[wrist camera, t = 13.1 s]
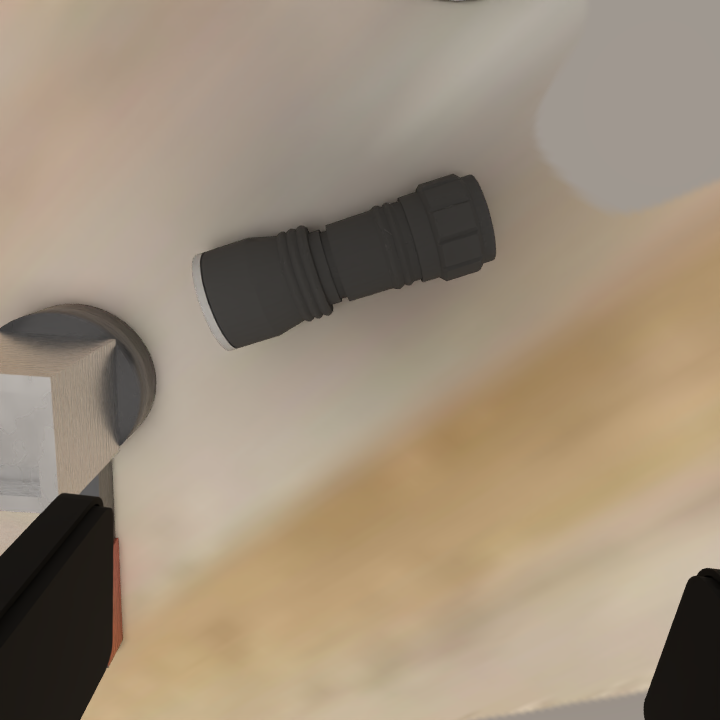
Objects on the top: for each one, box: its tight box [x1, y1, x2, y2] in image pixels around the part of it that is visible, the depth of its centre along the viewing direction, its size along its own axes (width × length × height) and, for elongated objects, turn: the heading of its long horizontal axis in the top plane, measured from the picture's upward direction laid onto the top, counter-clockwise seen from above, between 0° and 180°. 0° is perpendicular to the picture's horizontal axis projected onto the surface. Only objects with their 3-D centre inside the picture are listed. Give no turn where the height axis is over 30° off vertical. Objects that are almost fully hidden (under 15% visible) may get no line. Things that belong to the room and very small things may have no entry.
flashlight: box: [192, 174, 496, 351], centre depth 31 cm, size 15×5×5 cm, turn 108°
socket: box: [0, 331, 120, 513], centre depth 29 cm, size 7×7×7 cm
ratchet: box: [0, 304, 156, 668], centre depth 34 cm, size 24×9×7 cm, turn 176°
